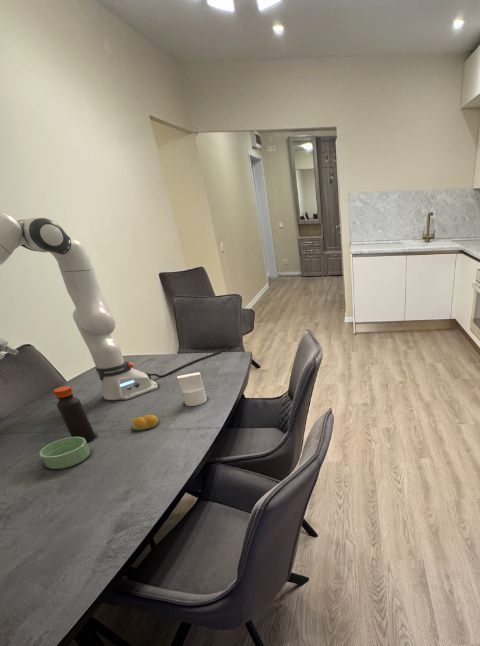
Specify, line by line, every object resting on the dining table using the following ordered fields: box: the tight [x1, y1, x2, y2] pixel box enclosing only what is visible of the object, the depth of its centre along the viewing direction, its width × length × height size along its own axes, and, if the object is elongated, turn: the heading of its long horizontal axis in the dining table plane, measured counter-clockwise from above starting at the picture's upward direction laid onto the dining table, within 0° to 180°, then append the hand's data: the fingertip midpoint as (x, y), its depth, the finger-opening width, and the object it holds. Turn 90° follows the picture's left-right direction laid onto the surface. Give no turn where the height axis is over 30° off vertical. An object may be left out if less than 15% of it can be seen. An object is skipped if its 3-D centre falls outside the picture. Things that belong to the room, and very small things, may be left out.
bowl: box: [39, 436, 91, 470], centre depth 130 cm, size 13×13×5 cm
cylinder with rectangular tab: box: [176, 371, 208, 407], centre depth 165 cm, size 9×9×12 cm
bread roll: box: [131, 414, 159, 431], centre depth 149 cm, size 8×9×4 cm
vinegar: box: [53, 385, 96, 443], centre depth 137 cm, size 7×7×20 cm
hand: (10, 355), depth 132 cm, fingers open, 8 cm apart
